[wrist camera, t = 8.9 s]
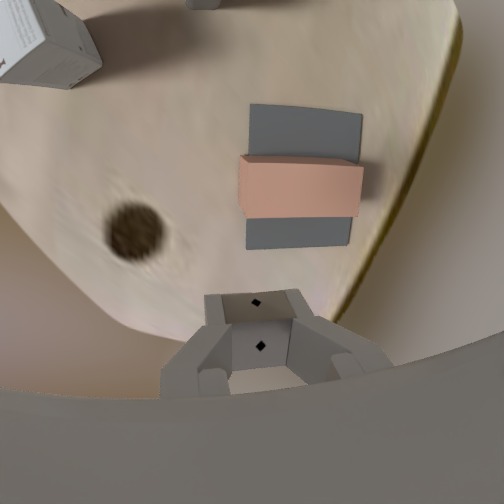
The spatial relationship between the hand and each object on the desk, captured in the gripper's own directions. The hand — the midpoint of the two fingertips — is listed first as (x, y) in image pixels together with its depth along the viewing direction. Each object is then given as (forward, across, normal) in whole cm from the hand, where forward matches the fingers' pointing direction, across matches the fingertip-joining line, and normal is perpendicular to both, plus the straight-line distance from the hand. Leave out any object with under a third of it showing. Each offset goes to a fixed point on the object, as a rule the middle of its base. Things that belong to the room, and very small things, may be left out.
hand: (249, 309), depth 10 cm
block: (+18, -3, 0) cm, 18 cm away
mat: (+21, -9, 0) cm, 23 cm away
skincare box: (+21, +13, -13) cm, 28 cm away
